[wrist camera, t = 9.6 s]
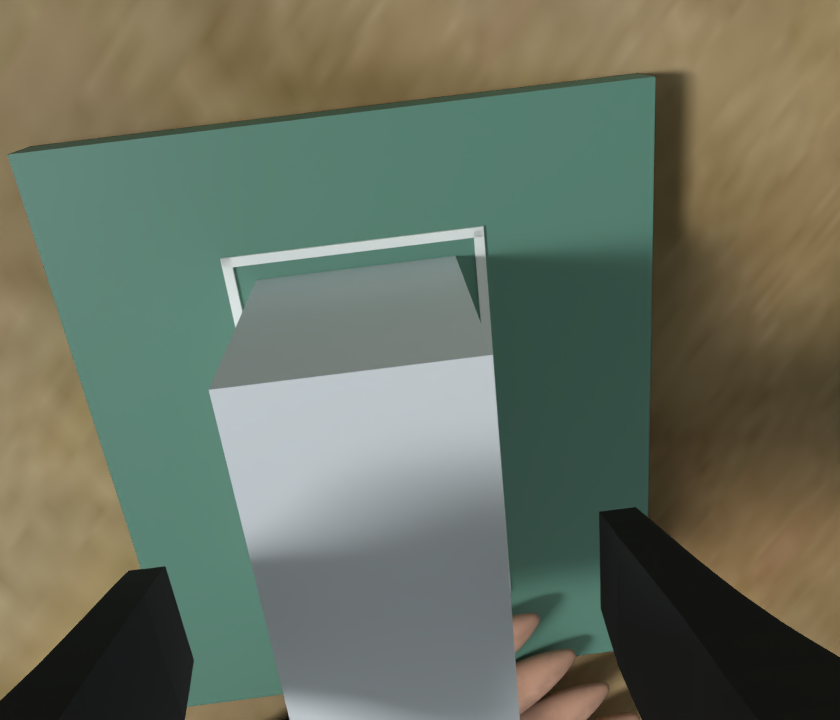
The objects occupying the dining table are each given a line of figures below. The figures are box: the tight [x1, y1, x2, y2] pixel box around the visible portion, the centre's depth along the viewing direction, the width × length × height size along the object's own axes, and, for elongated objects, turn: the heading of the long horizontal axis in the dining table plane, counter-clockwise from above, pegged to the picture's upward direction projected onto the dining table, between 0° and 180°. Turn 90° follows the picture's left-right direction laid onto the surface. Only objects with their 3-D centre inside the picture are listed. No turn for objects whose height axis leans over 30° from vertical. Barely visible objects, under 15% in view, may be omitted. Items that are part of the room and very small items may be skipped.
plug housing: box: [209, 256, 520, 720], centre depth 15 cm, size 4×8×5 cm, turn 6°
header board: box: [8, 73, 655, 707], centre depth 16 cm, size 12×14×4 cm
